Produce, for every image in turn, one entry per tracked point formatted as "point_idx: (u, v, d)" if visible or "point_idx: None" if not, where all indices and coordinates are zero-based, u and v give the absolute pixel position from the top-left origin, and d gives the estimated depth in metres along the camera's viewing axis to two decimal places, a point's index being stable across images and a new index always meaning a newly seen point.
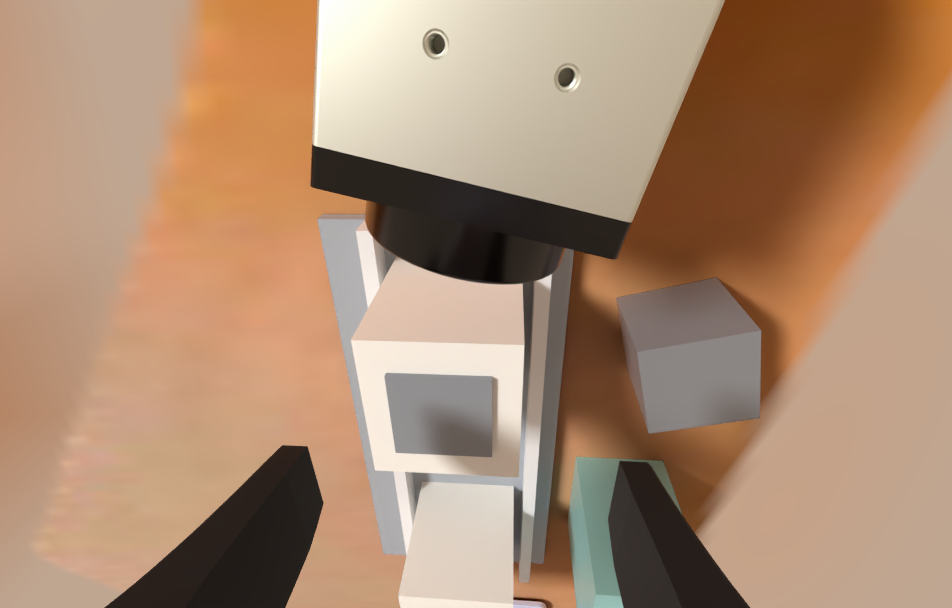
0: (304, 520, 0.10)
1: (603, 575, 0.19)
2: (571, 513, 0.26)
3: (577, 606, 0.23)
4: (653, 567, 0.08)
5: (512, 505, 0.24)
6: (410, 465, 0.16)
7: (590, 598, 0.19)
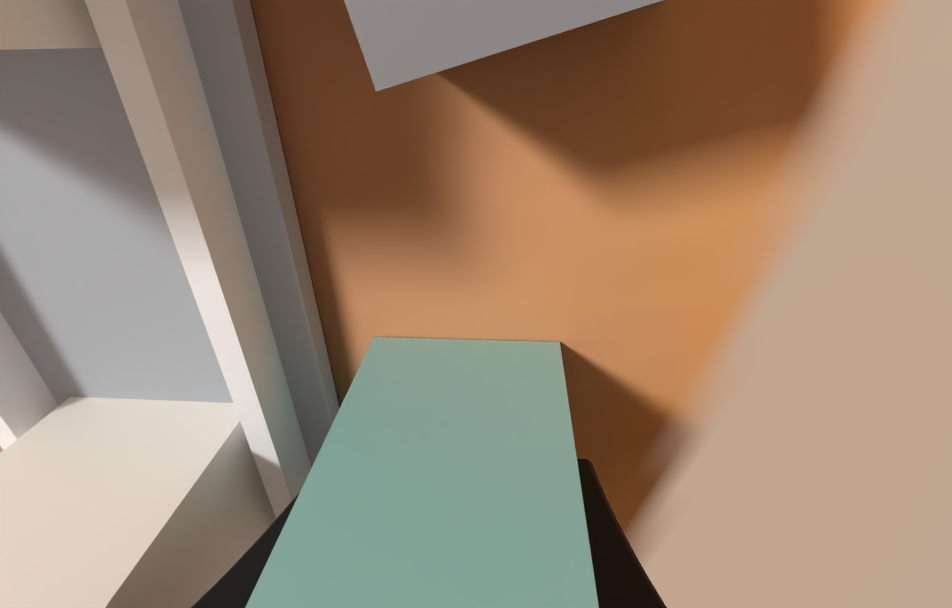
0: None
1: None
2: None
3: None
4: None
5: (224, 438, 0.11)
6: None
7: None
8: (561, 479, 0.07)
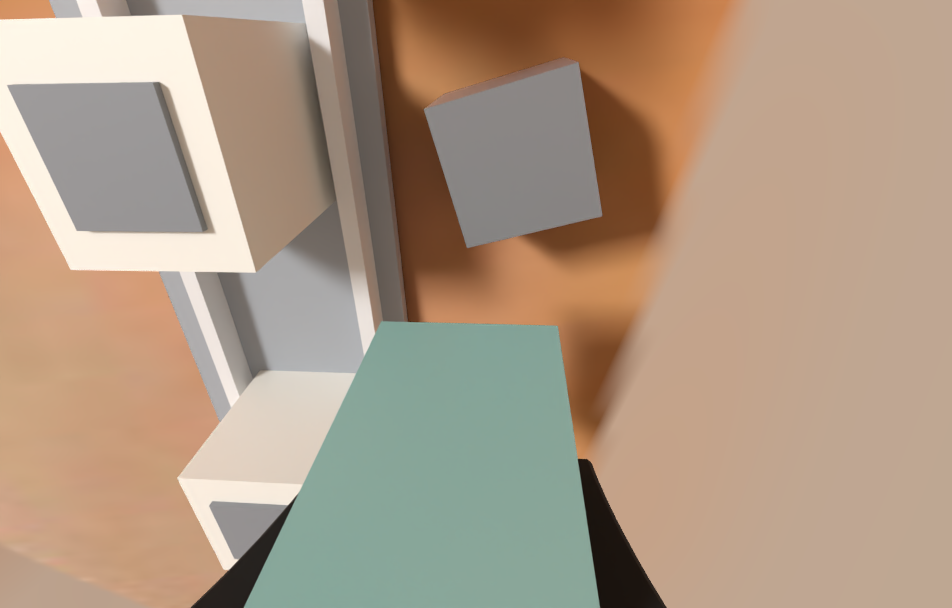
0: None
1: (297, 557, 0.06)
2: None
3: None
4: None
5: None
6: (111, 258, 0.12)
7: None
8: (558, 445, 0.08)
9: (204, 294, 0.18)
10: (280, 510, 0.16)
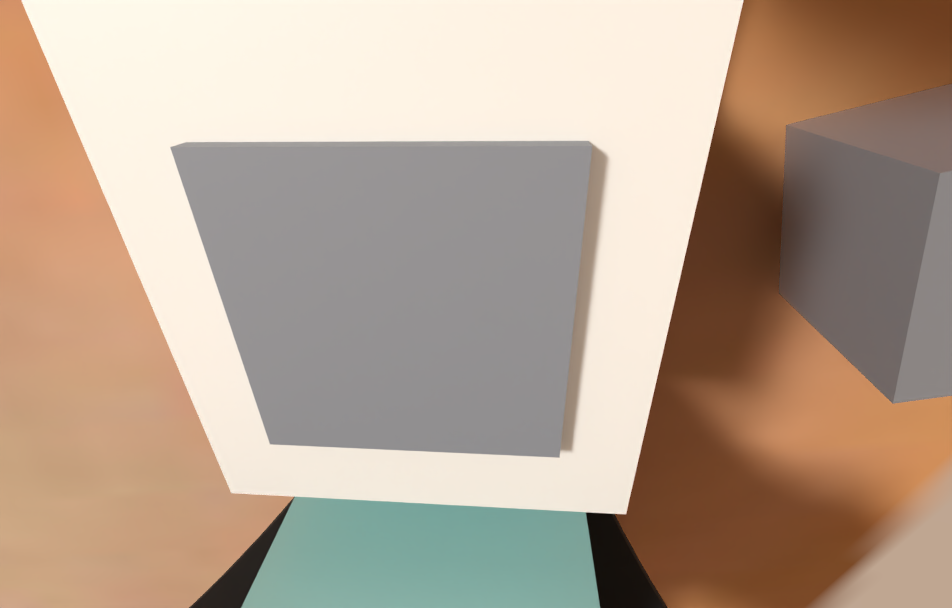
0: None
1: (292, 564, 0.06)
2: None
3: None
4: None
5: None
6: (323, 480, 0.06)
7: None
8: None
9: None
10: None
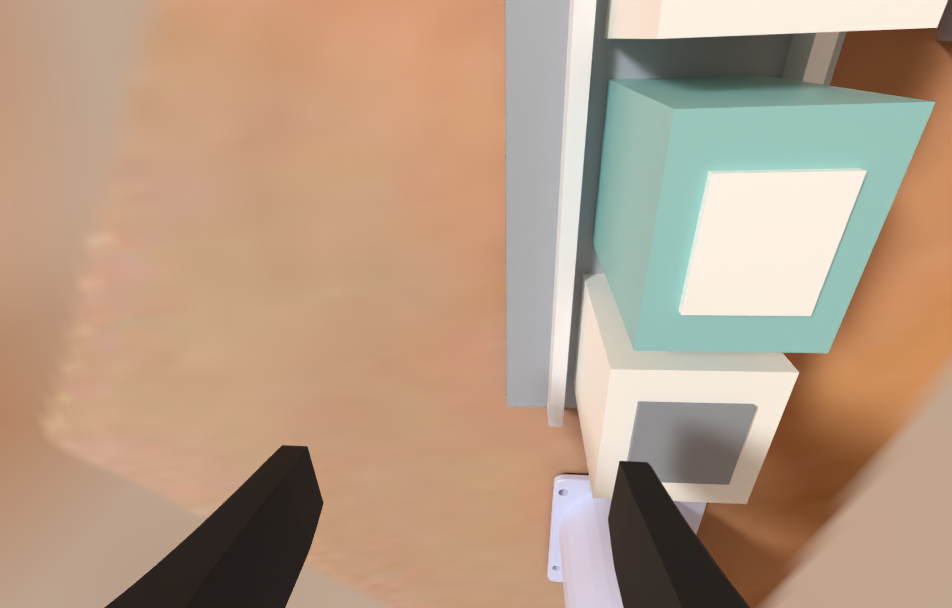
0: (304, 520, 0.10)
1: (684, 103, 0.09)
2: (600, 200, 0.16)
3: (618, 296, 0.13)
4: (653, 567, 0.08)
5: None
6: (730, 14, 0.09)
7: (654, 174, 0.10)
8: (819, 86, 0.11)
9: (582, 162, 0.15)
10: (733, 409, 0.13)
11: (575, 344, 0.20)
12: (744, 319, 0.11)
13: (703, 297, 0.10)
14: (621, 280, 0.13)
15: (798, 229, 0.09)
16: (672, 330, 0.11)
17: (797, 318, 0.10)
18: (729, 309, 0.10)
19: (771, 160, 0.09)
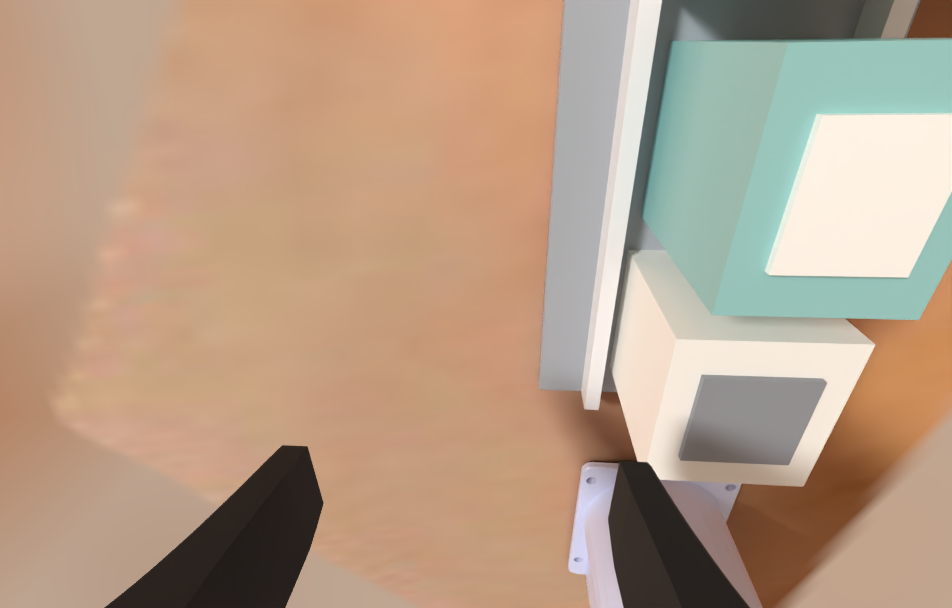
0: (304, 520, 0.10)
1: None
2: (655, 169, 0.15)
3: (685, 262, 0.12)
4: (653, 567, 0.08)
5: None
6: None
7: (752, 120, 0.09)
8: None
9: (640, 127, 0.14)
10: (802, 383, 0.12)
11: (614, 324, 0.19)
12: (834, 282, 0.10)
13: (795, 255, 0.10)
14: (690, 245, 0.12)
15: (907, 180, 0.09)
16: (755, 293, 0.10)
17: (891, 280, 0.10)
18: (820, 269, 0.10)
19: (886, 101, 0.08)
